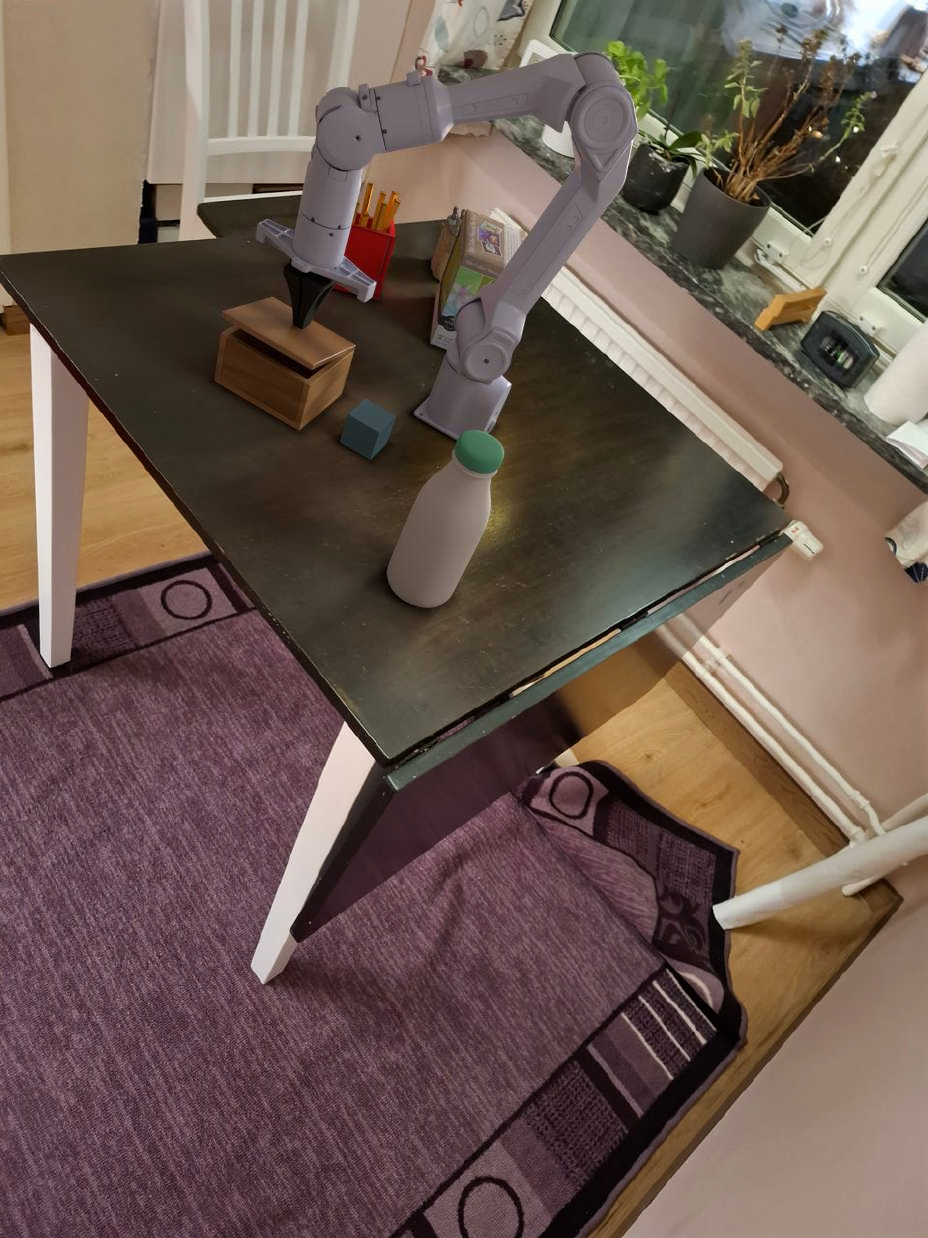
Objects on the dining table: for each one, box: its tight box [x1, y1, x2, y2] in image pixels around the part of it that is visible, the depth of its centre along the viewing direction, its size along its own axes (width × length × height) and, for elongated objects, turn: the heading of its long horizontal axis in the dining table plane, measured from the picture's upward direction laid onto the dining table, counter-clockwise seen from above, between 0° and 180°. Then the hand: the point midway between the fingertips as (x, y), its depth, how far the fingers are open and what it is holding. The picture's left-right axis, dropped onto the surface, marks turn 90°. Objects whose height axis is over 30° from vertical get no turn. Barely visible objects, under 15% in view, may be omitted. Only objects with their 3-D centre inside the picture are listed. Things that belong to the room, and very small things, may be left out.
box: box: [214, 324, 355, 431], centre depth 101 cm, size 11×12×7 cm
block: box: [339, 398, 397, 461], centre depth 101 cm, size 4×4×4 cm
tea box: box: [430, 208, 527, 351], centre depth 122 cm, size 15×10×15 cm
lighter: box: [430, 205, 467, 282], centre depth 133 cm, size 7×4×10 cm, turn 8°
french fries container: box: [332, 181, 401, 301], centre depth 119 cm, size 7×9×14 cm
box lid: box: [220, 296, 356, 370], centre depth 97 cm, size 11×12×1 cm
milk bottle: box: [386, 430, 505, 609], centre depth 83 cm, size 8×8×20 cm
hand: (301, 323), depth 99 cm, fingers closed
